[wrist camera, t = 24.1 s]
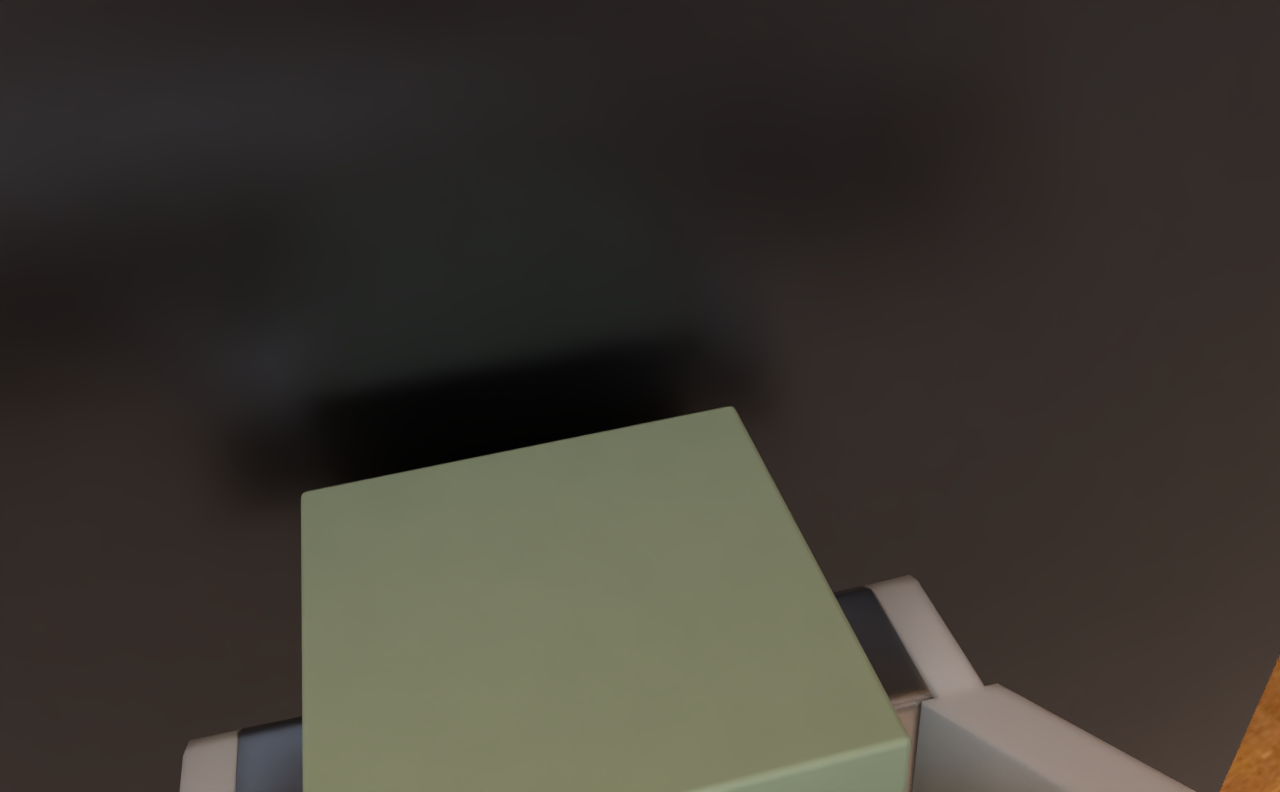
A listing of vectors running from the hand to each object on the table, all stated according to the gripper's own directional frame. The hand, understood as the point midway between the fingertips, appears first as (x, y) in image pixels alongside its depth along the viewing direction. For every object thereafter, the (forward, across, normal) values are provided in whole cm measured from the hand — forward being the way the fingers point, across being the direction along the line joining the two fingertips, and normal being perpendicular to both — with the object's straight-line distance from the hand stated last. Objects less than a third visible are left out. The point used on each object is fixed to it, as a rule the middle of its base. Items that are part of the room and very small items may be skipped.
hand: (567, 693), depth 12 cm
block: (+1, 0, 0) cm, 1 cm away
